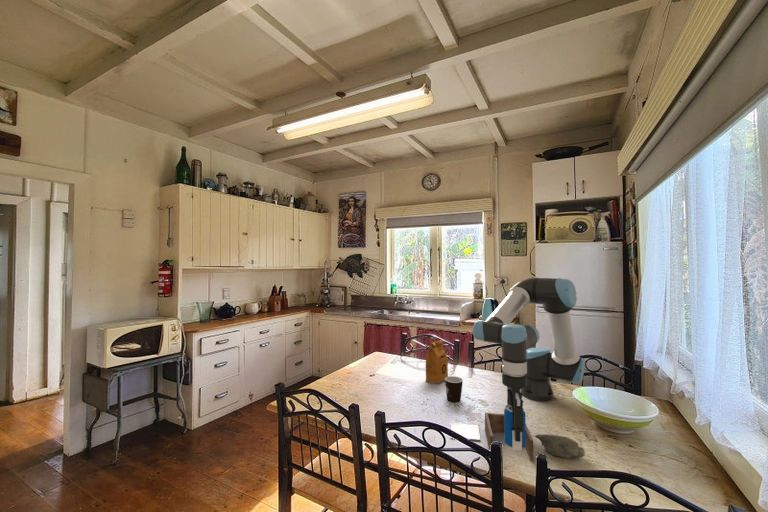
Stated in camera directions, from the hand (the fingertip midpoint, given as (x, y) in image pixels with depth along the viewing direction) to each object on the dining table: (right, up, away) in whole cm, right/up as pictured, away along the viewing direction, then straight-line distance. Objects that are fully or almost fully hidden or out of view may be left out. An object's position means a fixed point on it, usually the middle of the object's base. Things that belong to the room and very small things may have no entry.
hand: (515, 443), depth 107 cm
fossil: (+19, -9, +9) cm, 23 cm away
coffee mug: (-9, -9, +53) cm, 55 cm away
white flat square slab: (-11, -8, +22) cm, 26 cm away
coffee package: (-13, -9, +78) cm, 79 cm away
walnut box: (+3, -8, +13) cm, 16 cm away
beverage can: (0, -1, 0) cm, 1 cm away
